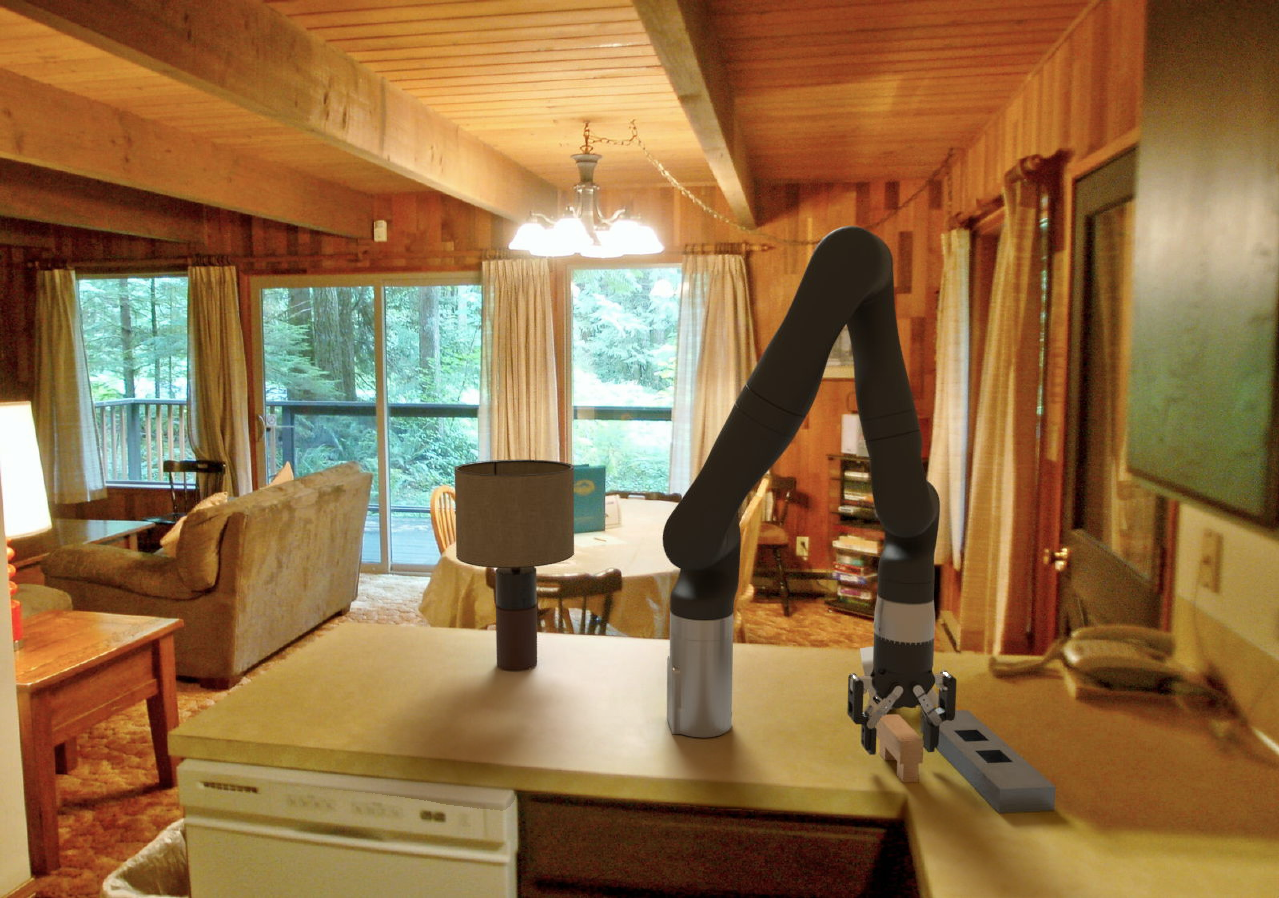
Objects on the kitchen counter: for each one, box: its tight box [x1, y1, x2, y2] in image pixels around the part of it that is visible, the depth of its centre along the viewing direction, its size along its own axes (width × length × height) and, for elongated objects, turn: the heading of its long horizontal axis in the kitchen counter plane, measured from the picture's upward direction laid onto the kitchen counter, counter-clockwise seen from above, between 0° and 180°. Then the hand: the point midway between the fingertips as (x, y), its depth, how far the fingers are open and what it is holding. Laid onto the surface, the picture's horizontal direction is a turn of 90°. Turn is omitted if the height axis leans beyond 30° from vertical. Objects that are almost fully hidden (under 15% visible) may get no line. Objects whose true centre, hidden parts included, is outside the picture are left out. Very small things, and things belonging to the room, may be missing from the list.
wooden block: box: [876, 713, 924, 784], centre depth 112 cm, size 8×3×6 cm, turn 6°
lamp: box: [454, 459, 575, 672], centre depth 147 cm, size 20×20×35 cm
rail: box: [920, 709, 1057, 814], centre depth 112 cm, size 22×7×3 cm, turn 5°
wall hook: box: [859, 646, 939, 711], centre depth 131 cm, size 8×10×10 cm
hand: (899, 750), depth 112 cm, fingers open, 7 cm apart
